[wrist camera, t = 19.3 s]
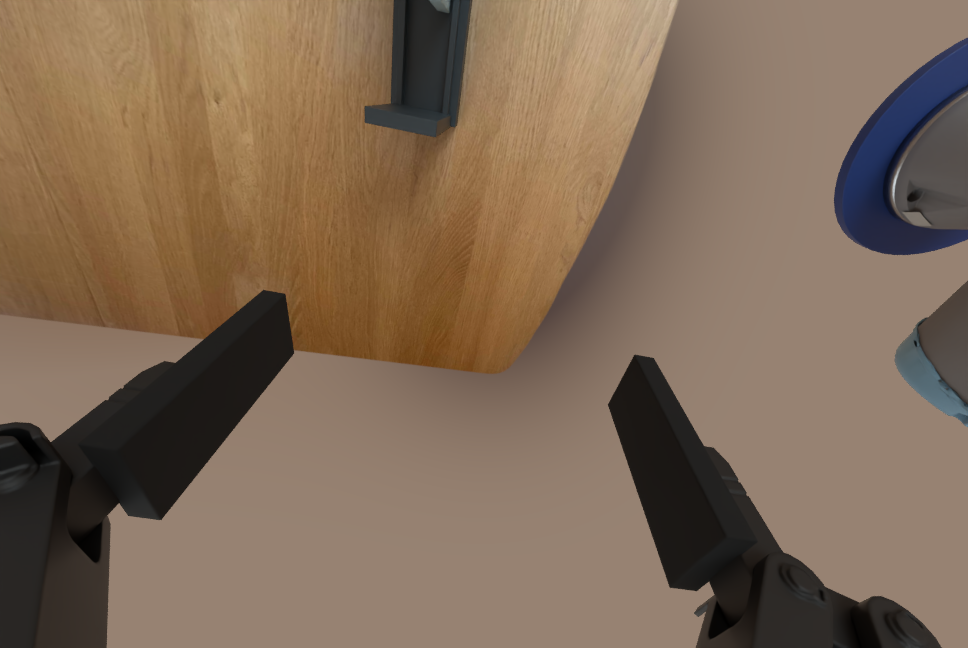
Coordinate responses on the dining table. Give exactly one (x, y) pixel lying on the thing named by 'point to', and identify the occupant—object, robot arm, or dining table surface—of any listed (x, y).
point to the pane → (441, 5)
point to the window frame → (425, 68)
